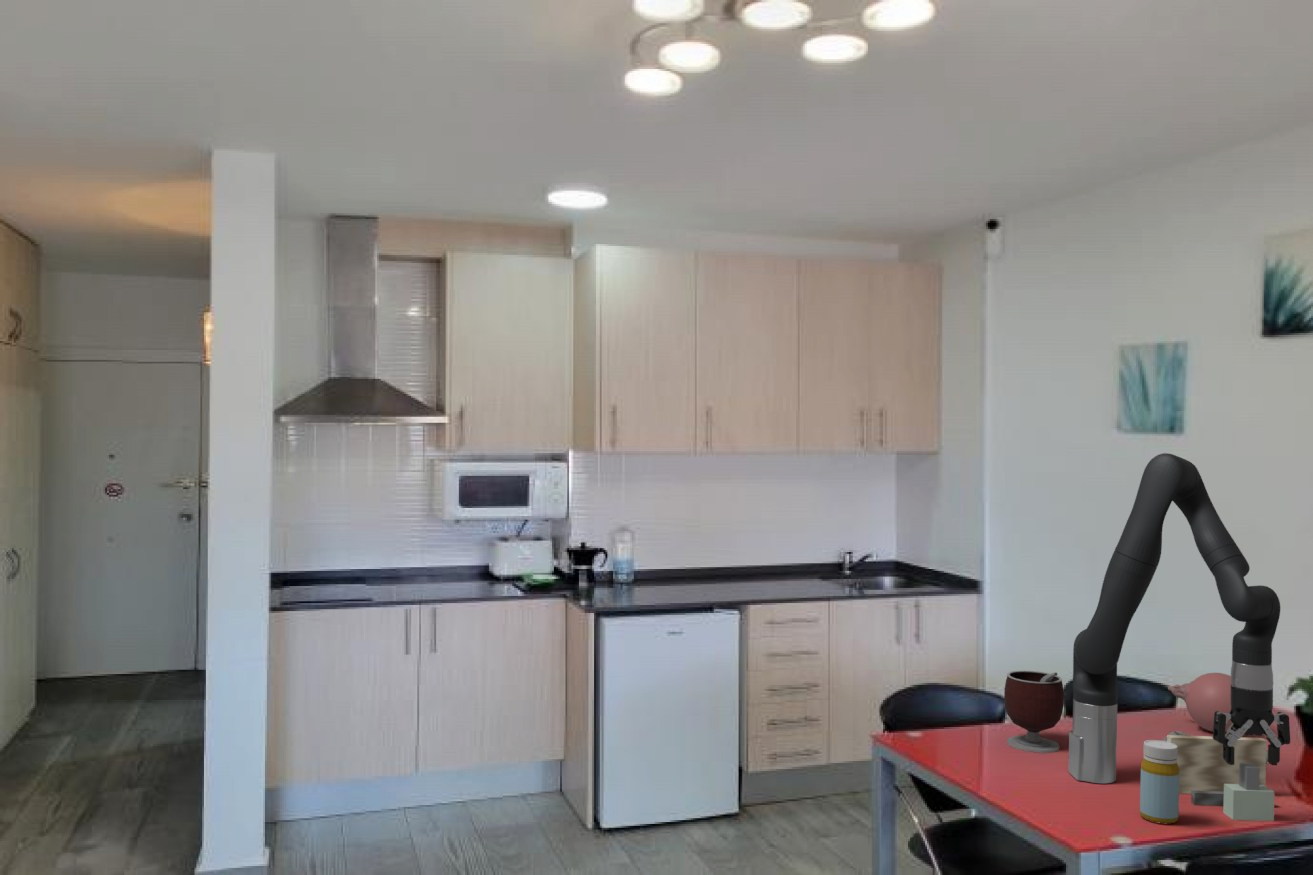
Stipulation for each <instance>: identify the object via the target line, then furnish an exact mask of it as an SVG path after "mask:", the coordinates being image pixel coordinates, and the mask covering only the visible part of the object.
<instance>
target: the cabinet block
mask: <svg viewBox="0 0 1313 875" xmlns="http://www.w3.org/2000/svg"><path fill="white" fill-rule="evenodd" d="M1259 772H1260V768H1259V767H1257V766H1255V765H1254V764H1252V763H1239V784H1224V805H1223V806H1222V807H1223V814H1225V816H1227V817H1229V818H1230V819H1231V820H1233V821H1257V822H1258V821H1259V822H1274V821H1275V791H1274V790H1273V789H1271V788H1270V787H1269V786H1266V784H1265V785H1259Z"/></svg>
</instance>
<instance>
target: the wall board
mask: <svg viewBox="0 0 1313 875" xmlns="http://www.w3.org/2000/svg"><path fill="white" fill-rule="evenodd" d="M1166 736H1167V742H1170V743H1173V744H1175V745H1177V747H1178V754H1177V764H1178V767H1179V795H1180V794H1183V795H1184V794H1186V795H1187V794H1188V795H1190V796H1191V798H1190V799H1191V800H1190V801H1191V802H1190V803H1191V804H1192V805H1194V806H1211V807H1212V806H1214V807H1215V806H1218V807H1223V805H1224V784H1239V763H1252V764H1254V765H1255V766H1257V767H1259V768H1260V772H1259V785H1265V786H1266V778H1267V777H1266V776H1267V774H1266V773H1267V765H1266V750H1267V739H1266V740H1265V739H1264V738H1263V737H1243V736H1242V737H1241V738H1240V739H1238V740H1237V741H1236V742H1235V744H1234V745H1233V747H1234V765H1229V764H1228V763H1226V761H1225V760H1224V759H1223V744H1222V743H1219V742H1218V741H1216V740H1214V739H1213V735H1212V736H1210V735H1209V736H1208V735H1207V736H1206V735H1191V736H1183V735H1169V734H1167V735H1166Z"/></svg>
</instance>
